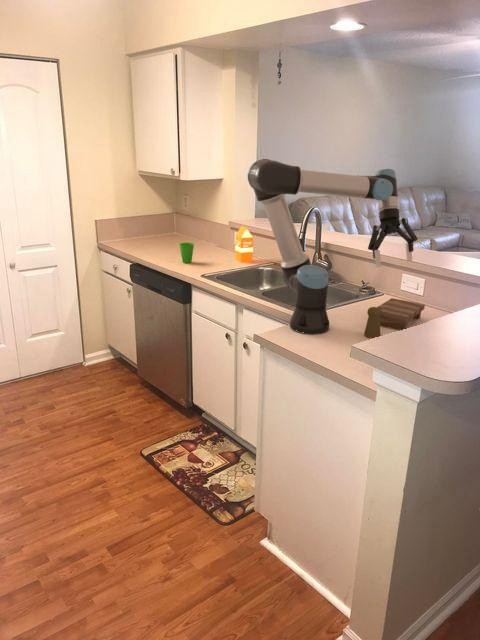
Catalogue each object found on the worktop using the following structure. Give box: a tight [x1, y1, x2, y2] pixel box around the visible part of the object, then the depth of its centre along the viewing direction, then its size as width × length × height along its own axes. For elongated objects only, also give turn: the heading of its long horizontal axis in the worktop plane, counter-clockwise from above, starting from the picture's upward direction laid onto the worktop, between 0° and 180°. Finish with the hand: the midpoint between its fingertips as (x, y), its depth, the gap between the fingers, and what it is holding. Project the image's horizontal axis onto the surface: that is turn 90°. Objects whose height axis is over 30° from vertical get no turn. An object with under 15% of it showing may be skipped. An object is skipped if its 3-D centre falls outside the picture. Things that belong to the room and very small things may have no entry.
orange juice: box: [235, 225, 254, 264], centre depth 304 cm, size 8×9×20 cm
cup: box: [178, 242, 195, 264], centre depth 299 cm, size 9×9×11 cm
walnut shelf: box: [377, 297, 426, 331], centre depth 207 cm, size 20×14×6 cm
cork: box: [363, 306, 382, 339], centre depth 190 cm, size 6×6×11 cm
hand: (393, 263), depth 200 cm, fingers open, 13 cm apart
